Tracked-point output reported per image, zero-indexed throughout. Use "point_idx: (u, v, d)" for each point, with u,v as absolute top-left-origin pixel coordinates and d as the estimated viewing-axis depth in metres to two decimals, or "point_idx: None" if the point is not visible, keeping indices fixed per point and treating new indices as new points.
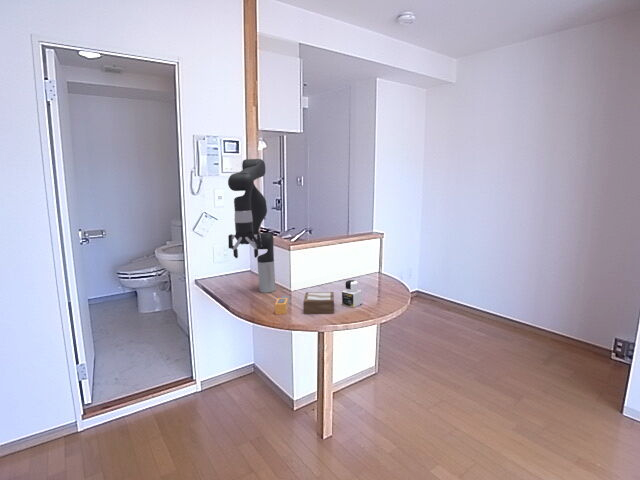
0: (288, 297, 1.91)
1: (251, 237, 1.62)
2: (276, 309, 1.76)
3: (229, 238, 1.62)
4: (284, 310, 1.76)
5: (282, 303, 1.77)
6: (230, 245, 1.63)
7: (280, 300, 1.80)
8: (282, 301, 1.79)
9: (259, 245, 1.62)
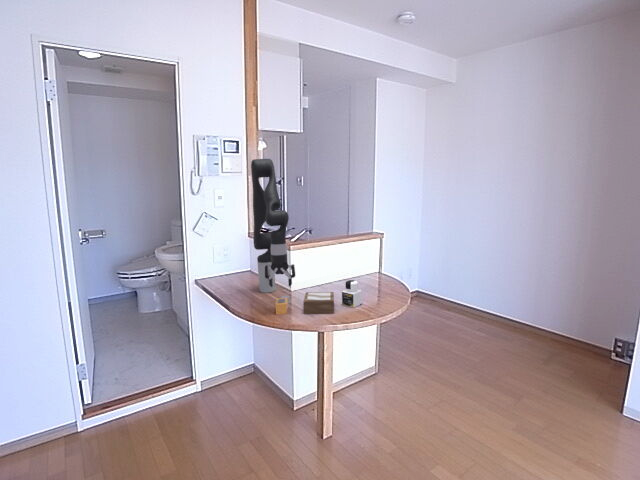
0: (288, 297, 1.91)
1: (286, 268, 1.76)
2: (277, 309, 1.76)
3: (265, 269, 1.76)
4: (285, 310, 1.76)
5: (282, 303, 1.77)
6: (266, 275, 1.77)
7: (280, 300, 1.80)
8: (282, 301, 1.79)
9: (293, 275, 1.76)
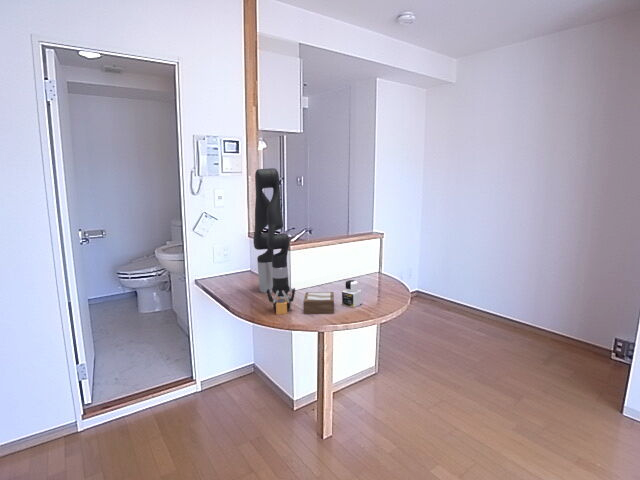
0: None
1: (287, 290, 1.78)
2: (277, 308, 1.76)
3: (268, 293, 1.78)
4: (285, 310, 1.76)
5: (283, 303, 1.77)
6: (270, 299, 1.79)
7: (280, 300, 1.80)
8: (282, 301, 1.79)
9: (291, 299, 1.78)
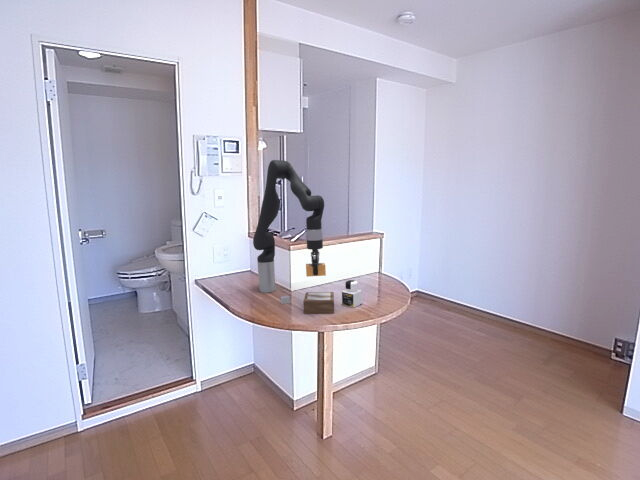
0: (288, 297, 1.91)
1: (312, 254, 1.74)
2: None
3: None
4: (306, 272, 1.76)
5: (308, 265, 1.76)
6: None
7: None
8: None
9: (312, 265, 1.72)
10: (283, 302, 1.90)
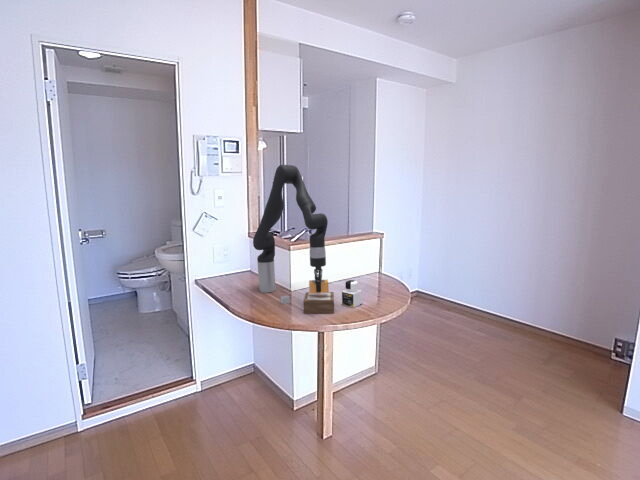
0: (288, 297, 1.91)
1: (315, 272, 1.76)
2: None
3: None
4: (309, 289, 1.78)
5: (311, 282, 1.79)
6: None
7: None
8: None
9: None
10: (283, 302, 1.90)
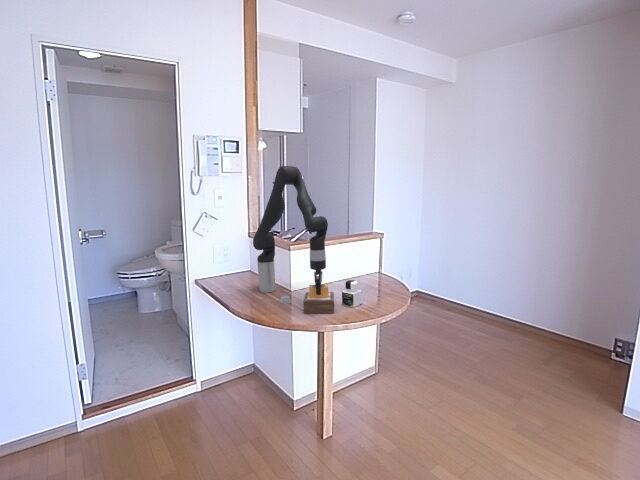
0: (288, 297, 1.91)
1: (315, 275, 1.76)
2: None
3: None
4: (309, 293, 1.79)
5: (311, 286, 1.79)
6: None
7: None
8: None
9: (315, 284, 1.74)
10: (283, 302, 1.90)
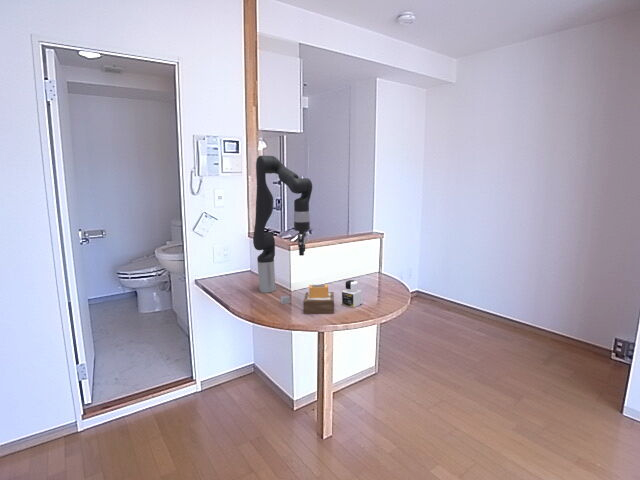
0: (288, 297, 1.92)
1: None
2: None
3: None
4: (309, 293, 1.79)
5: (311, 286, 1.79)
6: None
7: (319, 285, 1.81)
8: (316, 286, 1.79)
9: (298, 245, 1.76)
10: (283, 302, 1.90)
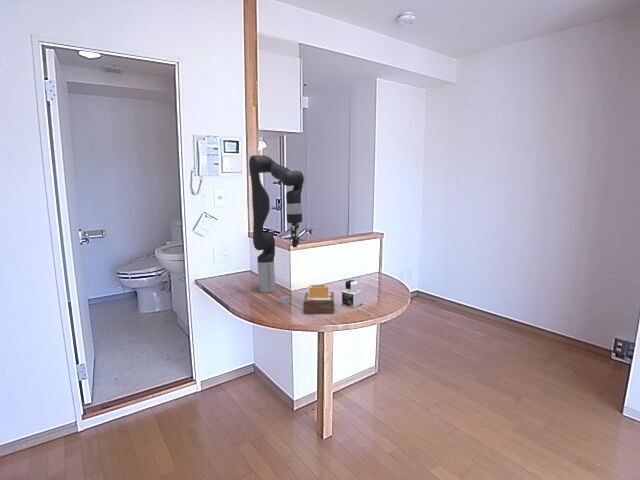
0: (288, 297, 1.92)
1: None
2: None
3: None
4: (309, 293, 1.79)
5: (311, 286, 1.79)
6: None
7: (319, 285, 1.81)
8: (316, 286, 1.79)
9: (291, 236, 1.77)
10: (283, 302, 1.90)
